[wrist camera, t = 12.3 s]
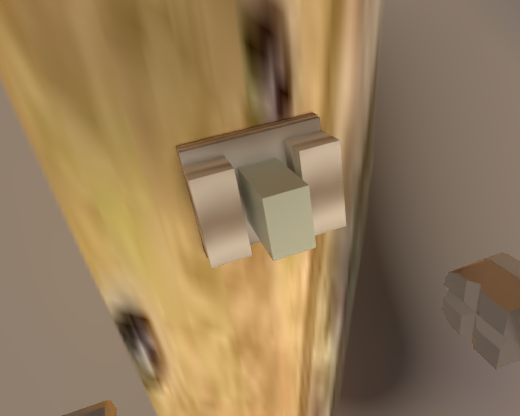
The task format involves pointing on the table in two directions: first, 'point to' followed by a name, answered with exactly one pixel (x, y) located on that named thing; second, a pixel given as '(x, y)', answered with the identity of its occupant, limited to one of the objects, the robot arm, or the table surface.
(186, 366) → the table surface
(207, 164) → the rail board
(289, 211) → the block
